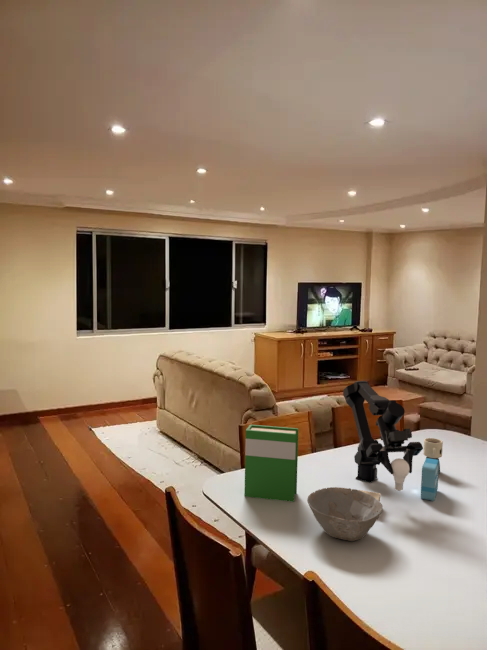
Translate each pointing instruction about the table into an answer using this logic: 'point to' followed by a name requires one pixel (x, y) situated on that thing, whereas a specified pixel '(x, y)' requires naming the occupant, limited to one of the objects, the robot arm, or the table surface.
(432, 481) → the data package
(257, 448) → the hardback book
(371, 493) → the kraft carton
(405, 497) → the table surface
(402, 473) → the lightbulb
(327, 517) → the ceramic bowl
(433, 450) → the character mug
